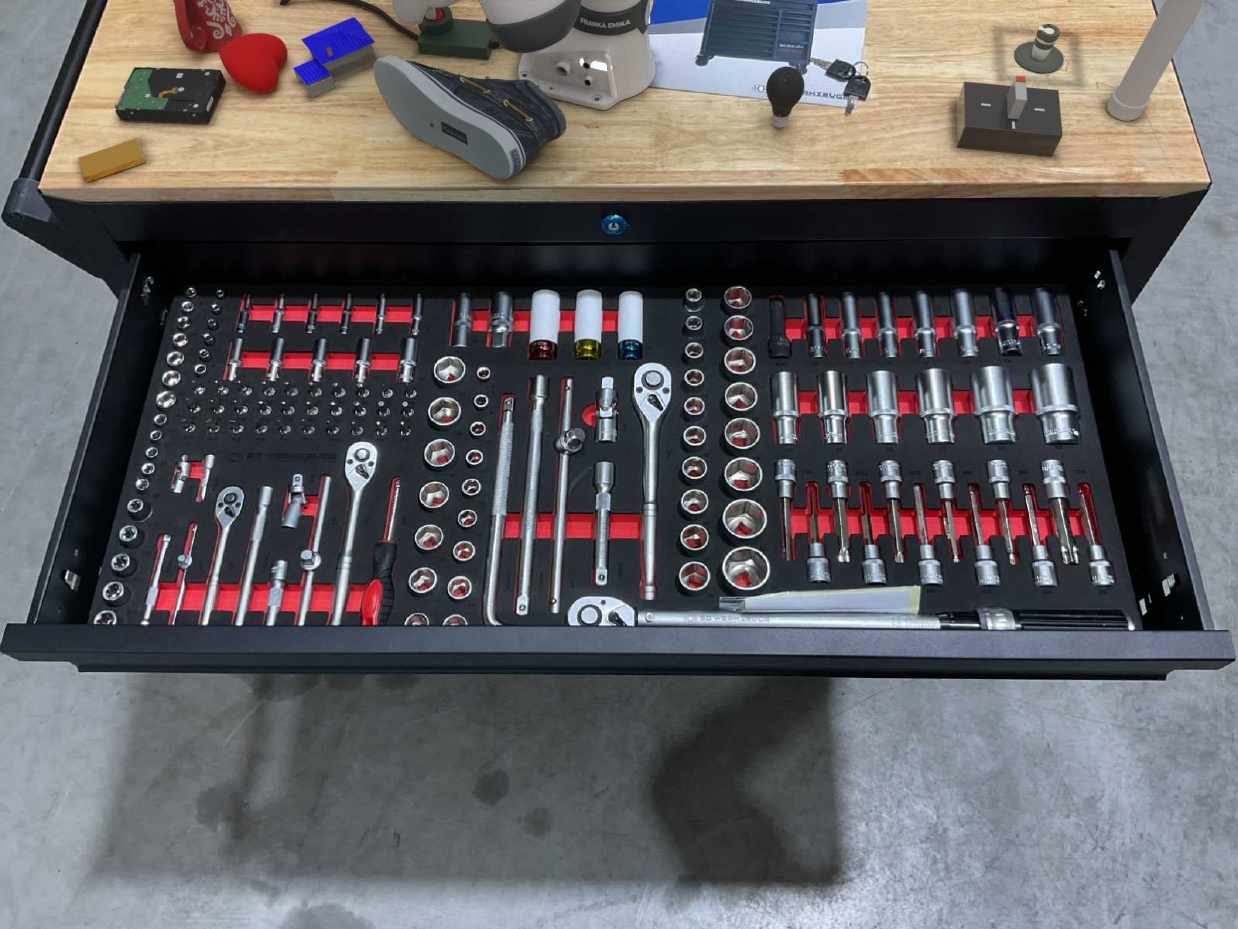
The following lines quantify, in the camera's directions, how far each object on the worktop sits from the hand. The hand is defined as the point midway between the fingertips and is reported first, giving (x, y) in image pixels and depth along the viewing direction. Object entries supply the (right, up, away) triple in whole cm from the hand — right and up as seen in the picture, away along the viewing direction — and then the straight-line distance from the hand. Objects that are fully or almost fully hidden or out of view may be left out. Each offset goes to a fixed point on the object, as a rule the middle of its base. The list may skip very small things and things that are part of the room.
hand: (433, 13), depth 148 cm
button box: (+4, -4, +3) cm, 6 cm away
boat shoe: (+4, -24, -15) cm, 28 cm away
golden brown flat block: (-49, -26, -8) cm, 56 cm away
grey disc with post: (+99, -9, -3) cm, 99 cm away
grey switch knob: (+90, -21, -15) cm, 94 cm away
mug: (-39, +4, -7) cm, 40 cm away
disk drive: (-42, -16, -2) cm, 45 cm away
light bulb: (+56, -22, -9) cm, 61 cm away
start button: (0, -1, +2) cm, 2 cm away
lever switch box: (+90, -23, -11) cm, 94 cm away
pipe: (+109, -20, -9) cm, 111 cm away
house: (-15, -8, +1) cm, 17 cm away
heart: (-34, -8, -4) cm, 35 cm away
